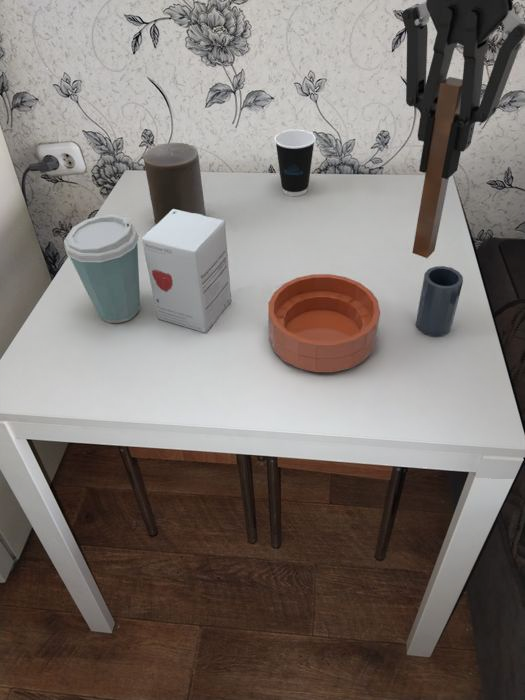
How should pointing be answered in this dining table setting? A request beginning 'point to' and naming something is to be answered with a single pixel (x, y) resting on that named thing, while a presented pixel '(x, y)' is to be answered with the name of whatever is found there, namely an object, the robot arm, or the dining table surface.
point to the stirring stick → (437, 168)
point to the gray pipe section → (438, 300)
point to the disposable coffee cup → (107, 264)
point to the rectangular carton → (188, 269)
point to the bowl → (323, 322)
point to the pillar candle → (174, 179)
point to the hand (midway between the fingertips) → (438, 170)
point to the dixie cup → (295, 160)
